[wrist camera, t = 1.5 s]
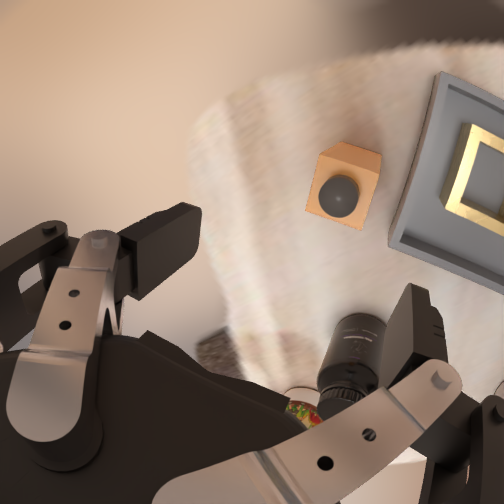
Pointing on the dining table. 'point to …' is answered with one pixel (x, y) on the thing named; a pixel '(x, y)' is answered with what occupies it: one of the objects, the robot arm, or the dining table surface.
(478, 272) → the walled box
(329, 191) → the block
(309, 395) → the milk bottle
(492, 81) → the dining table surface
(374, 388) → the supplement bottle
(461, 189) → the inlet
